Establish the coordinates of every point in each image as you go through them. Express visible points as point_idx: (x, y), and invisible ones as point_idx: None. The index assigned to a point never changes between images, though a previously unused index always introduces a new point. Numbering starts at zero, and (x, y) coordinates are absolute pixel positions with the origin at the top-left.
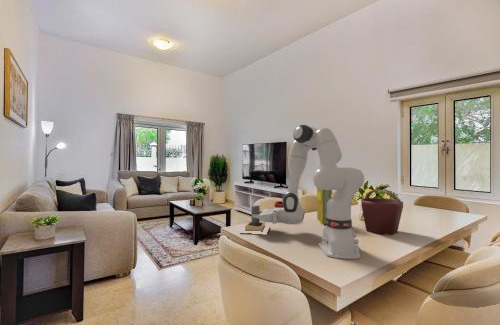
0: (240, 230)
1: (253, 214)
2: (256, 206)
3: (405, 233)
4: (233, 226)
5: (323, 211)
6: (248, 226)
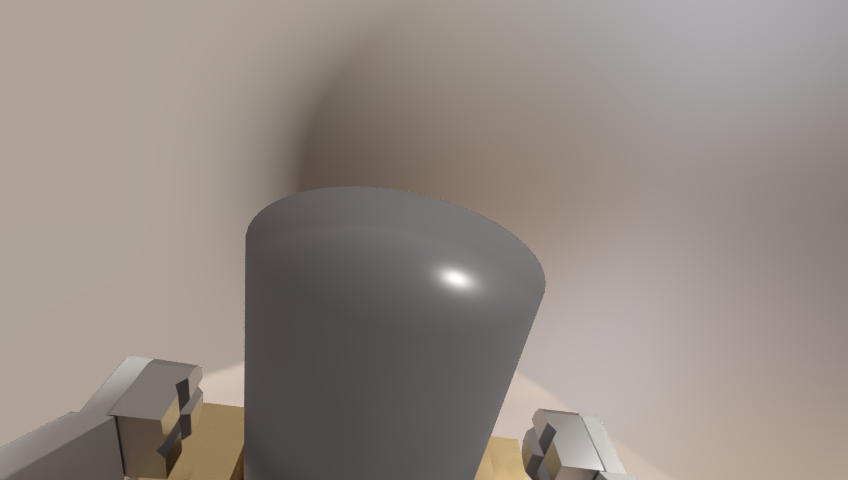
0: None
1: (133, 368)
2: (303, 251)
3: None
4: None
5: None
6: (201, 462)
